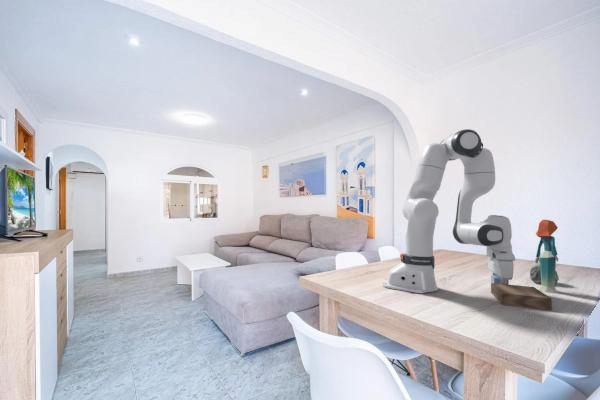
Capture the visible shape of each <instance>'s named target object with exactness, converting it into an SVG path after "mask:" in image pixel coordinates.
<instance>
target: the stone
mask: <svg viewBox="0 0 600 400" xmlns="http://www.w3.org/2000/svg"><path fill="white" fill-rule="evenodd" d="M529 275H530V276H529V278H530V280H531V281H532V282H533V283H534V284H537V285H538V284H539V285H542V282H541V271H540V262H538V264H537V263H536V264H535V265H534V266H533V267H531V268H530V270H529ZM559 280H560V278H559V275H558V272H557V270H556V269H555V285H556V284H558V281H559Z"/></svg>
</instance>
